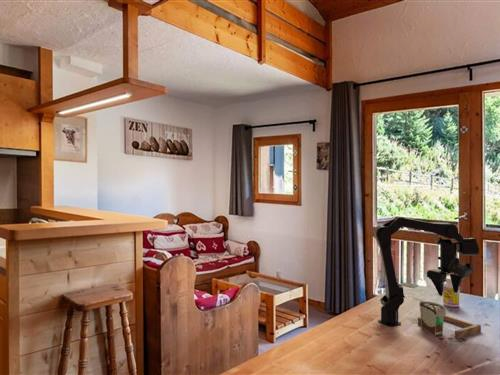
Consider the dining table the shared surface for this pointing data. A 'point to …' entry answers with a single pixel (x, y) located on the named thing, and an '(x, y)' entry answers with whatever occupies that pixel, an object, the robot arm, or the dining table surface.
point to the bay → (465, 331)
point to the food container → (432, 317)
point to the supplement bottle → (450, 294)
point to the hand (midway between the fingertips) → (448, 294)
